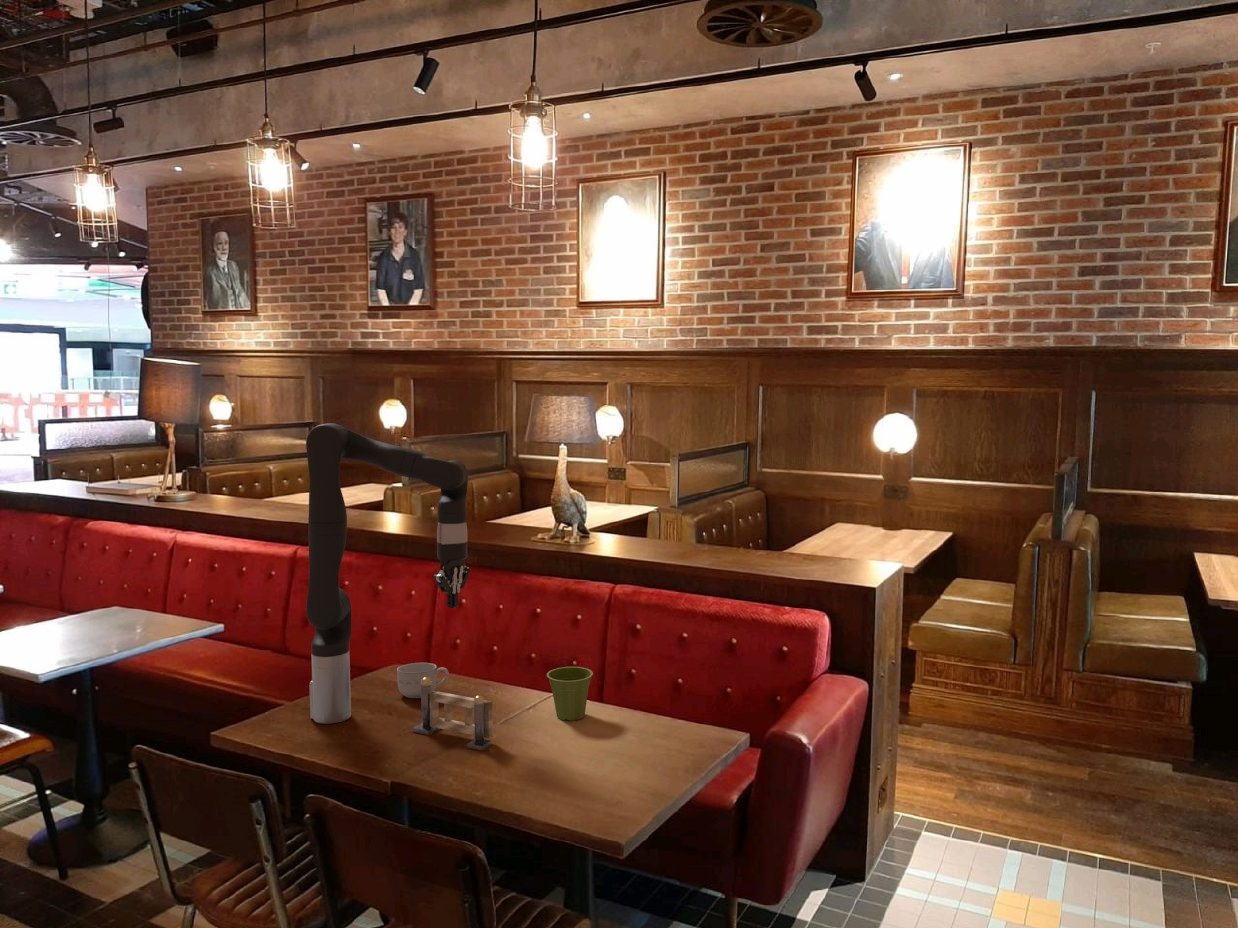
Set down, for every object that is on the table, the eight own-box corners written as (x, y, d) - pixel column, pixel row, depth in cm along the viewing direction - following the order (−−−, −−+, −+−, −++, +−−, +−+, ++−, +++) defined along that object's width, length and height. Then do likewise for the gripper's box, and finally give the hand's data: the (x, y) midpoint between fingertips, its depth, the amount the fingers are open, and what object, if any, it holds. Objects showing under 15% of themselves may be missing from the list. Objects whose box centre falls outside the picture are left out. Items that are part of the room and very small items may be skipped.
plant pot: (566, 704, 245) (566, 663, 244) (602, 714, 238) (602, 671, 237) (537, 718, 236) (537, 675, 235) (573, 728, 229) (573, 683, 228)
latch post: (467, 747, 216) (466, 696, 215) (477, 741, 220) (476, 691, 219) (481, 750, 215) (480, 699, 214) (491, 744, 218) (490, 694, 217)
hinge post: (412, 731, 226) (411, 678, 225) (425, 724, 231) (424, 673, 230) (428, 735, 224) (427, 681, 223) (441, 728, 228) (440, 675, 227)
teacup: (391, 700, 249) (390, 671, 248) (406, 687, 259) (406, 659, 259) (440, 703, 246) (439, 674, 246) (454, 690, 257) (453, 662, 256)
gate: (430, 726, 226) (429, 692, 225) (433, 724, 227) (433, 690, 226) (489, 738, 218) (488, 703, 217) (492, 736, 219) (492, 701, 219)
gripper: (456, 534, 239) (456, 600, 241) (423, 542, 227) (424, 611, 229) (479, 537, 236) (480, 603, 237) (448, 545, 224) (448, 615, 226)
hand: (452, 607), depth 233 cm, fingers closed
